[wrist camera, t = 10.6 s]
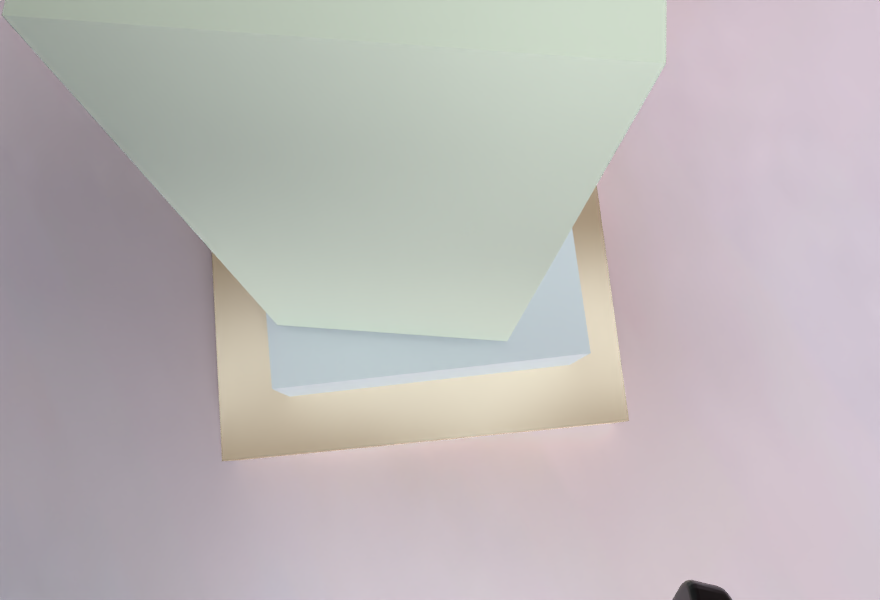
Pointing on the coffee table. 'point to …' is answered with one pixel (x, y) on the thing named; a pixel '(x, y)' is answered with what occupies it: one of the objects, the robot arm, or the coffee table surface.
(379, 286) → the column
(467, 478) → the coffee table surface
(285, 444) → the tower base
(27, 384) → the coffee table surface
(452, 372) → the tower top
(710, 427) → the coffee table surface
